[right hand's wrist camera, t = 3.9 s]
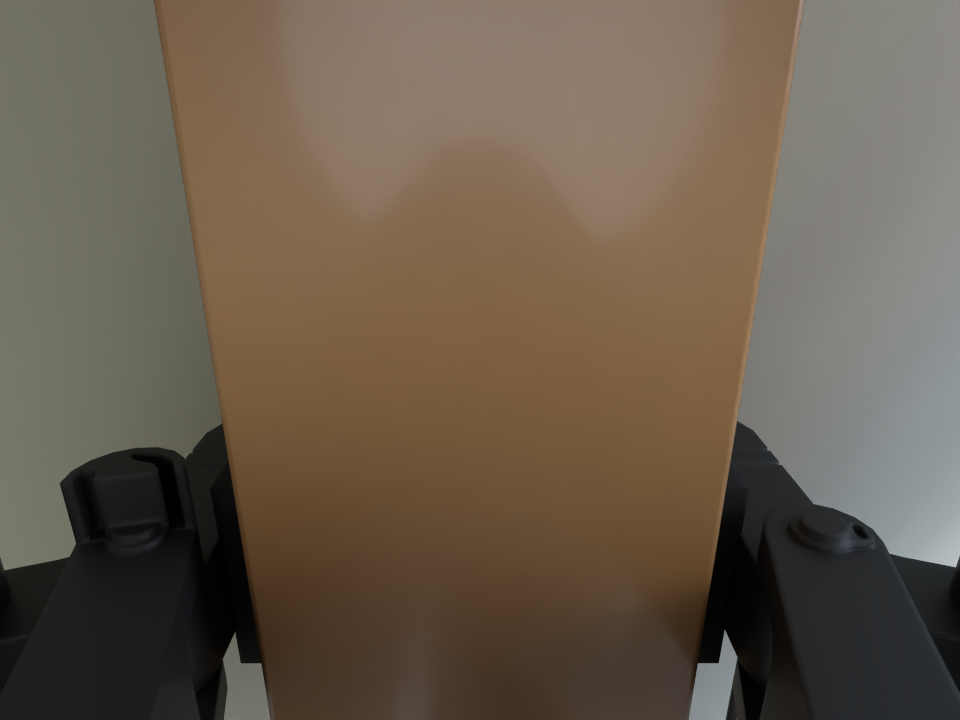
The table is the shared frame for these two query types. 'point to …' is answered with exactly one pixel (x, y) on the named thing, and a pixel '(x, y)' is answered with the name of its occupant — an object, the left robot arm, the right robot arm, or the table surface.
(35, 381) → the table surface
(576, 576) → the bar
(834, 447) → the table surface
